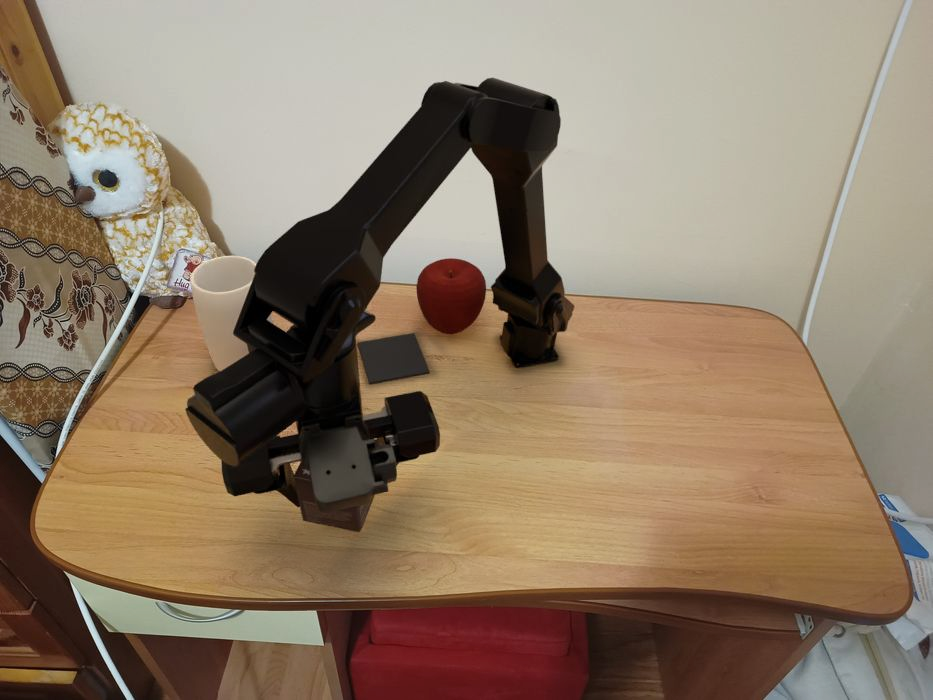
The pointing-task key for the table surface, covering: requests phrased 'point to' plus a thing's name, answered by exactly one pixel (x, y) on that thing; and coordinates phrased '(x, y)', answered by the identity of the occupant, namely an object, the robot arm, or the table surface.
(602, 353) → the table surface
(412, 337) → the coaster
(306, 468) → the box
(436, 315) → the apple
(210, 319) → the cup
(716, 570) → the table surface
